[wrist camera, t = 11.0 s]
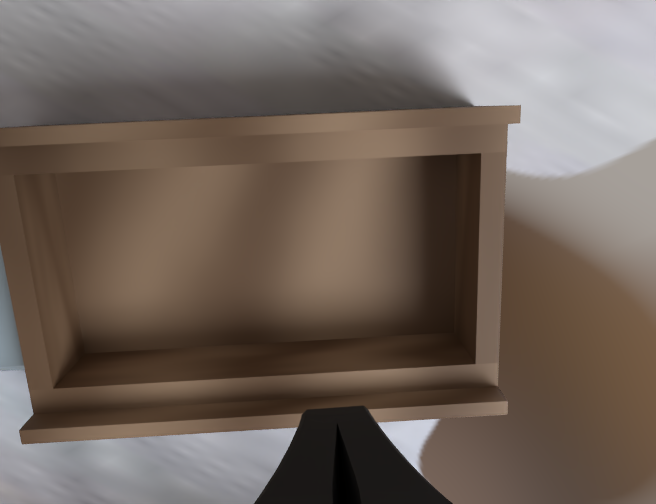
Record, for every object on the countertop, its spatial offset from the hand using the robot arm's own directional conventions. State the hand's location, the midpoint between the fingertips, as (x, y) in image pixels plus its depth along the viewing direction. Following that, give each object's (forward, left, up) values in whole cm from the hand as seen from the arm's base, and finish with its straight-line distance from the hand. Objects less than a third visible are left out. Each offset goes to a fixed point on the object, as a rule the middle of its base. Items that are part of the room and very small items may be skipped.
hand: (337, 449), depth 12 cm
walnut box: (+2, +2, -10) cm, 11 cm away
